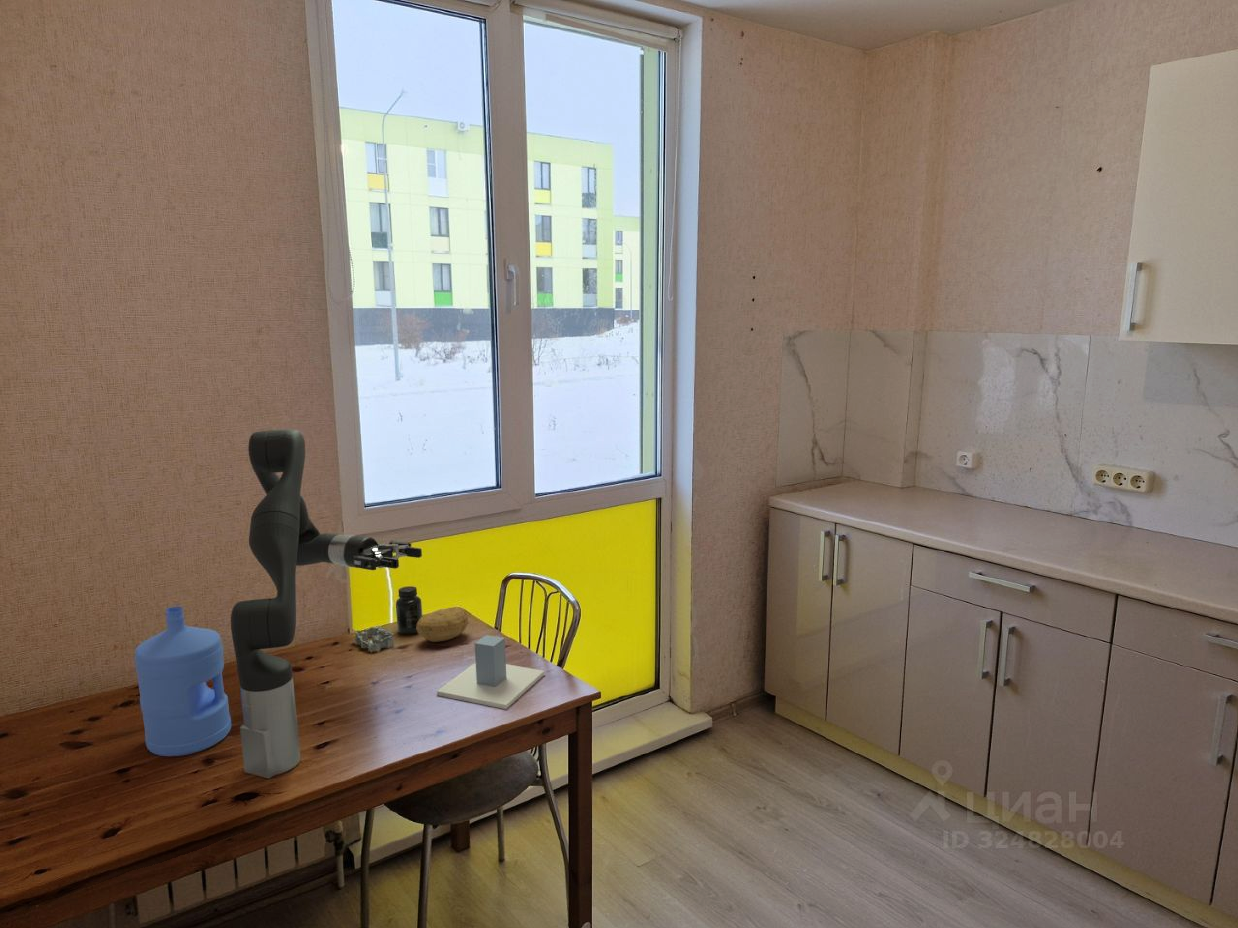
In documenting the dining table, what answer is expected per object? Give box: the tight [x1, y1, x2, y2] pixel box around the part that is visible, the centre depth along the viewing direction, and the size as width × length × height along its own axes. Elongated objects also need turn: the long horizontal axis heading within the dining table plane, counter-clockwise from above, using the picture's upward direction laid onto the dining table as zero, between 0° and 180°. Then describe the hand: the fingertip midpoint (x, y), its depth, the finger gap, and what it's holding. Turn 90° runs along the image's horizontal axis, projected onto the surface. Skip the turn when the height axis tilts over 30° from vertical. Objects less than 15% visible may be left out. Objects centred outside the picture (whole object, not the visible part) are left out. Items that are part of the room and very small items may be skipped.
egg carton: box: [351, 625, 395, 653], centre depth 211 cm, size 11×8×4 cm
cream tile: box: [436, 662, 545, 710], centre depth 187 cm, size 18×18×1 cm
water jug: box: [134, 606, 232, 757], centre depth 163 cm, size 16×16×28 cm
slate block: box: [474, 634, 507, 687], centre depth 186 cm, size 5×5×10 cm
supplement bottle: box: [395, 585, 423, 636], centre depth 218 cm, size 7×7×12 cm
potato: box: [416, 606, 469, 643], centre depth 212 cm, size 10×14×8 cm
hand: (409, 558), depth 185 cm, fingers open, 8 cm apart
